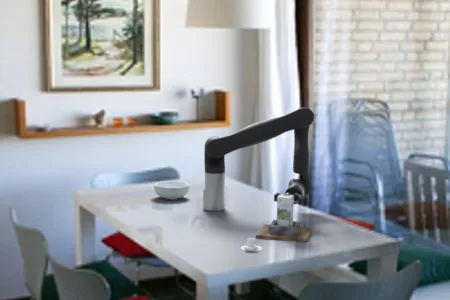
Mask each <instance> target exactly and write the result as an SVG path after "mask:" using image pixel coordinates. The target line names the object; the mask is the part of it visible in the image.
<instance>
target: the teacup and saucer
mask: <svg viewBox="0 0 450 300" xmlns="http://www.w3.org/2000/svg"><path fill="white" fill-rule="evenodd" d="M256 239H257V238H256V237H247V239H246V241H247V242H246V243H247V245H243V246H241V247H240V250H242V251H246V252H258V251H261V250H262V249H263V247H262V246H259V245H256ZM255 247H257V248H258V249H255Z"/></svg>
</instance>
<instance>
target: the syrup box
mask: <svg viewBox="0 0 450 300" xmlns="http://www.w3.org/2000/svg"><path fill="white" fill-rule="evenodd" d="M279 194H280V193H279ZM283 194H284V193H281V194H280V195H279V196H278V197H277V201H276V205H277V206H276V220H277V226H286V227H293V221H294V205H295V204H294V195H283Z"/></svg>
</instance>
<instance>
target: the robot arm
mask: <svg viewBox="0 0 450 300" xmlns="http://www.w3.org/2000/svg"><path fill="white" fill-rule="evenodd" d="M314 119H315V114H314V112H313V110H312V109H310V108H309V107H306V106H305V107H304V106H302V107H299V108H297V109H296V110H295V109H294V111H291V112H289V113H287V114H284V115H282V116H278V117H273V118H269V119H265V120H264V119H263V120H261V121H258V122H254V123H252V124H249V125H247V126H245V127H243V128H242V129H240V130H237V131H235V133H232V134H229V135H226V136H222V137H220V136H211V137H209V138H207V140H206V141H205V143H204V155H203V156H204V188H203V190H202V191H203V195H202V196H203V197H202V203H203V204H202V207H203V208H202V209H203V210H205V211H210V212H220V211H224V210H225V206H226V204H225V202H226V199H225V198H226V197H225V195H226V191H225V190H226V189H225V188H226V162H225V161H226V160H225V159H226V157H225V156H227V155H228V154H230V153H232V152H234V151H237V150H240V149H241V150H242V149H244V148H249V147H250V146H251V147H252V146H254V145H259V144H262V143H265V142H267V141H270V140H271V139H274V138H276V137H279V136H280V135H282V134H285V133H288V132H291V131H293V133H294V134H293V135H294V136H293V137H294V138H293V139H294V140H293V142H294V145H293V160H292V162H293V163H292V171H293V173H294V174H297V175H301V176H302V177H303V178H292V179H290V180H289V182H288V186H287V187H288V188H287V189H286V190H285V191H284V193H282V194H283V195H294V205H299V206H300V205H301V204H302V205H303V204H304V203H305V204H308V203H309V198H310V197H309V196H310V194H311V192H312V188H313V187H312V182H311V178H310V171H309V169H310V168H309V166H310V165H309V163H310V161H309V160H310V152H309V151H310V150H309V140H308V139H309V130H310V126H311V125H312V124H313V122H314ZM279 195H280V193H279V192H276V193H275V194H274V195H273V202H277V197H278V196H279Z"/></svg>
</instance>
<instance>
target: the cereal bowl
mask: <svg viewBox="0 0 450 300" xmlns="http://www.w3.org/2000/svg"><path fill="white" fill-rule="evenodd" d="M153 186H154V187H153V188H154V192H155V194H156V195H157V196H158V197H160V198H162V199H164V198H166V199H165V200H167V199H177V198H179V199H181V198H184V196H186V195H187V194H188V193H189V189H190V184H189V183H187V182H184V181H178V180H165V181H159V182H156V183H154V184H153ZM177 200H178V199H177Z"/></svg>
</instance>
